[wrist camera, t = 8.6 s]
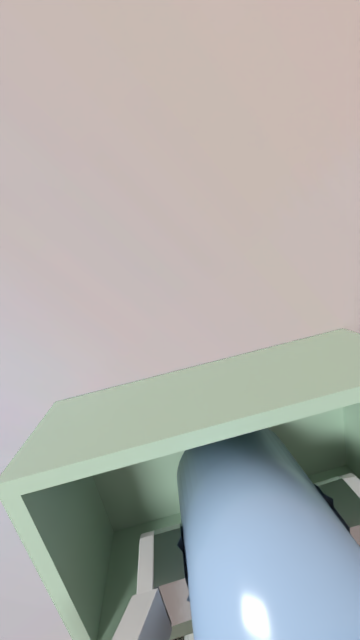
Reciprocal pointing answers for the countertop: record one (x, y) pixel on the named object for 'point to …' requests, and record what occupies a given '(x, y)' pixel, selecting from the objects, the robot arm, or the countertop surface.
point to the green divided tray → (165, 462)
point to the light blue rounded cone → (264, 546)
